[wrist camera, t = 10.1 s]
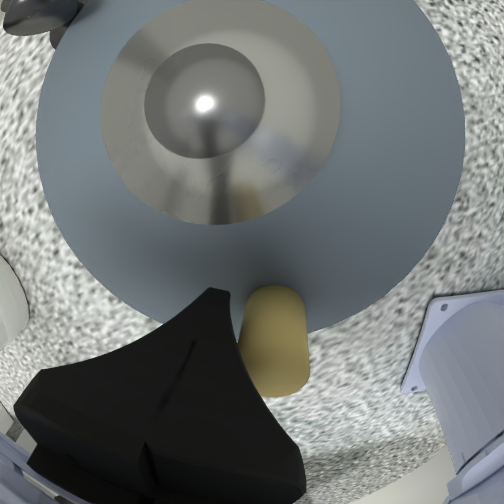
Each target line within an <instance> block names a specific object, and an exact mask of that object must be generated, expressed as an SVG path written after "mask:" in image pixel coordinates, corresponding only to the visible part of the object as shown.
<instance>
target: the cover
mask: <svg viewBox="0 0 504 504" xmlns="http://www.w3.org/2000/svg"><path fill="white" fill-rule="evenodd" d="M340 107H341V102H340V88H339V84H338V79H337V75H336V72H335V69H334V66H333V64H332V61H331V59H330V57H329V55H328V53H327V51H326V50H325V48H324V46H323V45H322V43H321V42H320V41H319V39H318V38H317V37H316V36H315V34H314V33H313V32H312V31H311V30H310V29H309V28H308V27H307V26H306V25H305V24H304V23H302V22H301V21H300V20H299V19H297V18H296V17H294V16H293V15H292V14H290V13H289V12H287V11H285V10H283V9H281V8H279V7H277V6H275V5H273V4H270V3H267V2H264V1H261V0H191V1H187V2H184V3H181V4H179V5H176V6H174V7H172V8H170V9H168V10H166V11H164V12H162V13H161V14H159V15H157V16H156V17H154V18H153V19H151V20H150V21H149V22H148V23H146V24H145V25H144V26H143V27H141V28H140V29H139V30H138V31H137V32H136V33H135V34H134V35H133V36H132V37H131V38H130V39H129V41H128V42H127V43H126V45H125V46H124V47H123V48H122V50H121V51H120V53H119V55H118V56H117V58H116V60H115V61H114V63H113V65H112V67H111V70H110V72H109V74H108V77H107V80H106V83H105V86H104V90H103V95H102V101H101V115H100V118H101V131H102V136H103V141H104V145H105V148H106V151H107V154H108V157H109V159H110V161H111V163H112V165H113V167H114V169H115V171H116V173H117V174H118V176H119V177H120V178H121V180H122V181H123V183H124V184H125V185H126V186H127V187H128V188H129V189H130V191H131V192H132V193H133V194H135V195H136V196H137V197H138V198H139V199H140V200H141V201H143V202H144V203H145V204H147V205H148V206H150V207H151V208H153V209H154V210H156V211H158V212H160V213H162V214H164V215H166V216H169V217H172V218H175V219H177V220H180V221H185V222H189V223H194V224H203V225H227V224H233V223H239V222H244V221H247V220H251V219H254V218H257V217H260V216H262V215H264V214H267V213H269V212H271V211H273V210H275V209H277V208H278V207H280V206H282V205H283V204H285V203H287V202H288V201H289V200H291V199H292V198H293V197H294V196H296V195H297V194H298V193H299V192H301V191H302V190H303V188H304V187H305V186H306V185H307V184H308V183H309V182H310V181H311V180H312V179H313V178H314V176H315V175H316V174H317V172H318V171H319V170H320V168H321V167H322V165H323V164H324V162H325V160H326V158H327V156H328V155H329V153H330V150H331V148H332V145H333V143H334V140H335V137H336V133H337V129H338V125H339V119H340Z"/></svg>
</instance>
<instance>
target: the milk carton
mask: <svg viewBox="0 0 504 504" xmlns="http://www.w3.org/2000/svg"><path fill="white" fill-rule="evenodd" d="M13 422H14V421H13V419H12V418H11V417H10V415H9V414H8V413H7V411H6V410H5V408H4V407H3V406H2V404H1V403H0V431H1V432H2V433H3V434H4V435H5V434H6V432H7V431H8V429H9V428H10V426H11V425H12V423H13Z"/></svg>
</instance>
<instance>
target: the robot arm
mask: <svg viewBox="0 0 504 504" xmlns="http://www.w3.org/2000/svg"><path fill="white" fill-rule="evenodd" d="M230 298H231V294H230V292H229V291H226V290H221V289H217V288H213V287H209V288H207V289H206V290H205V291H204V292H203V293H202V294H201V295H199V296H198V297H197V298H196V299H195V300H194V301H193V302H192V303H190V304H189V305H188V306H187V307H186V308H184V309H183V310H182V311H181V312H179V313H178V314H177V315H176V316H174V317H173V318H171V319H170V320H169V321H167V322H166V323H164V324H163V325H161V326H160V327H158V328H157V329H155V330H154V331H152V332H150V333H149V334H147V335H145V336H143V337H142V338H140V339H138V340H136V341H134V342H132V343H130V344H128V345H126V346H123V347H121V348H119V349H116V350H114V351H112V352H109V353H107V354H104V355H101V356H98V357H95V358H92V359H88V360H85V361H81V362H78V363H74V364H69V365H64V366H59V367H54V368H48V369H41V370H40V371H39V372H38V373H37V375H36V376H35V377H34V378H33V379H32V380H31V382H30V383H29V384H28V386H27V387H26V389H25V390H24V391H23V393H22V394H21V396H20V397H19V398H18V400H17V401H16V403H15V404H14V406H13V407H14V411H15V415H16V417H17V418H18V420H19V421H20V423H21V424H22V425H23V427H24V428H25V429H26V431H27V432H28V433H29V434H30V436H31V437H32V438H33V439H34V441H35V442H36V443H37V445H36V447H35V449H34V451H33V452H32V454H30V453H29V452H27V451H26V450H25V449H23V448H22V447H20V446H19V445H18V444H16V443H15V442H13V441H12V440H11V439H9V438H8V437H7V436H6V435H4V434H3V433H2V432H1V431H0V504H60V503H59V502H57V501H56V500H54V499H53V498H51V497H50V496H48V495H47V494H46V493H44V492H43V491H42V490H40V489H39V488H38V487H36V486H35V485H33V484H32V483H30V482H29V481H28V480H26V479H25V478H24V475H23V472H25V473H26V474H27V475H29V476H30V477H32V478H33V479H35V480H36V481H38V482H39V483H41V484H42V485H44V486H46V487H47V488H49V489H50V490H52V491H54V492H55V493H57V494H59V495H60V496H62V497H64V498H66V499H68V500H69V501H71V502H73V503H75V504H293V503H294V502H295V501H297V500H298V499H300V498H301V497H302V496H303V495H304V494H305V493H306V475H305V469H304V464H303V460H302V456H301V453H300V449H299V447H298V446H297V445H296V444H295V442H294V441H293V440H292V439H291V438H290V437H289V436H288V434H287V433H286V432H285V431H284V429H283V428H282V427H281V426H280V424H279V423H278V422H277V420H276V419H275V417H274V416H273V415H272V413H271V412H270V410H269V409H268V407H267V406H266V404H265V402H264V401H263V399H262V397H261V396H260V394H259V392H258V391H257V389H256V387H255V386H254V384H253V382H252V380H251V378H250V375H249V373H248V371H247V369H246V367H245V364H244V362H243V359H242V357H241V354H240V351H239V348H238V345H237V341H236V338H235V334H234V330H233V325H232V320H231V313H230ZM443 304H445V305H444V306H443V307H442V305H443ZM400 389H401V392H402V393H403V394H407V393H413V392H418V391H423V390H427V392H428V394H429V396H430V399H431V401H432V404H433V407H434V409H435V412H436V414H437V417H438V420H439V423H440V425H441V428H442V431H443V434H444V437H445V440H446V443H447V446H448V449H449V452H450V455H451V458H452V461H453V465H454V468H455V472H456V475H457V476H456V477H455V478H454V479H452V480H451V481H450V482H448V483H447V487H448V491H449V496H448V497H447V498H446V499H445V501H444V502H443V504H504V289H503V290H496V291H489V292H481V293H474V294H466V295H457V296H448V297H439V298H434V299H433V300H432V301H431V302H430V303H429V305H428V309H427V312H426V316H425V319H424V323H423V326H422V329H421V333H420V336H419V339H418V342H417V345H416V348H415V351H414V354H413V357H412V359H411V362H410V365H409V367H408V370H407V373H406V375H405V378H404V380H403V383H402V385H401V388H400ZM21 470H22V471H23V472H22V471H21Z"/></svg>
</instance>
